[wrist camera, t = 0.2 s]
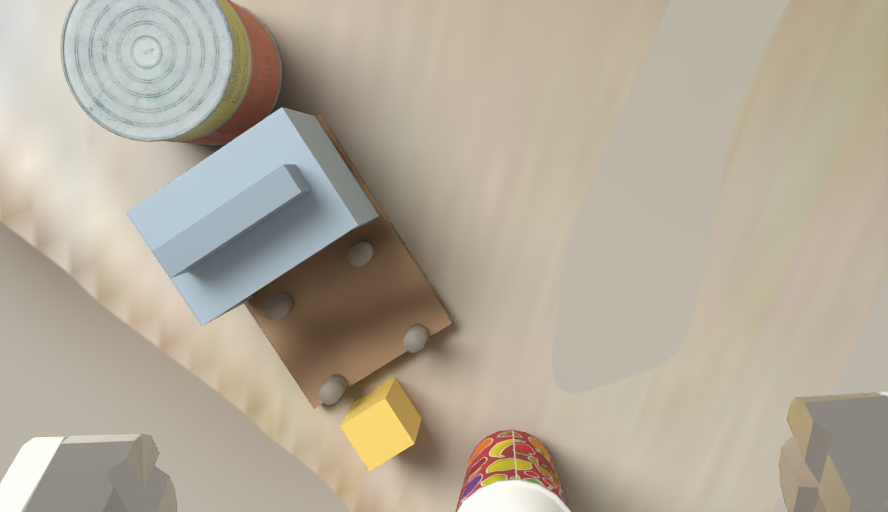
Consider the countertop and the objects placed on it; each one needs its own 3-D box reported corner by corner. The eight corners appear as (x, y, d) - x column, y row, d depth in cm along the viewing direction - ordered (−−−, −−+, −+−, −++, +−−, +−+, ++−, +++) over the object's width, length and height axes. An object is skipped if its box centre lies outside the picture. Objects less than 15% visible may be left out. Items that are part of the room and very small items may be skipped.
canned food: (188, -31, 63) (117, -76, 52) (309, 51, 64) (266, 26, 52) (114, 93, 65) (28, 77, 53) (233, 173, 65) (174, 175, 53)
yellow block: (422, 418, 66) (414, 443, 60) (380, 443, 67) (369, 471, 61) (395, 377, 66) (385, 398, 60) (353, 402, 66) (339, 426, 60)
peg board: (453, 320, 65) (450, 332, 61) (318, 404, 67) (306, 421, 62) (321, 115, 64) (308, 112, 59) (187, 205, 65) (164, 208, 61)
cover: (379, 215, 63) (350, 228, 50) (244, 302, 64) (184, 335, 52) (314, 115, 62) (268, 103, 50) (180, 205, 64) (104, 215, 51)
